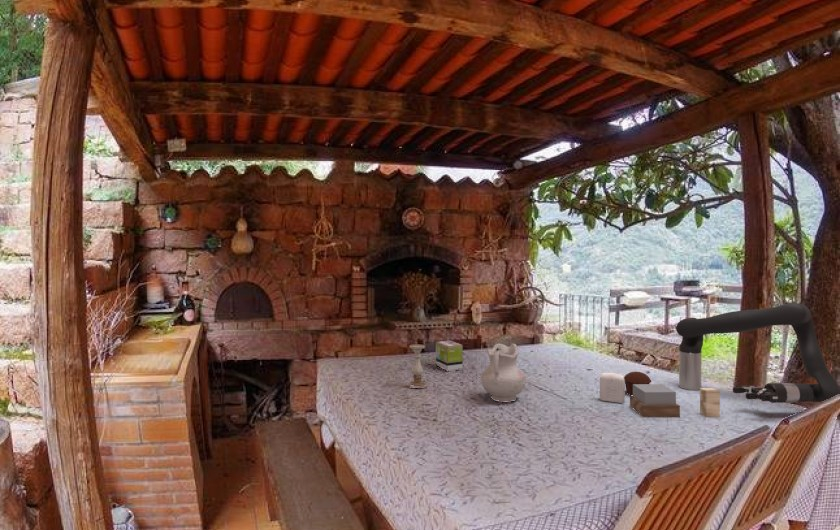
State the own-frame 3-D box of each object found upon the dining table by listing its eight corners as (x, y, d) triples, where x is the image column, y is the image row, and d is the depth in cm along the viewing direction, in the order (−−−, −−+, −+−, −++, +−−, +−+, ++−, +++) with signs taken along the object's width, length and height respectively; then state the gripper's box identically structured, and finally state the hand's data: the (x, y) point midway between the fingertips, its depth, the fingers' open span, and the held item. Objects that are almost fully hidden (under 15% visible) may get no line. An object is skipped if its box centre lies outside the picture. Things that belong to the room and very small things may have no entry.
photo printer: (625, 401, 216) (625, 373, 215) (624, 404, 212) (624, 375, 212) (600, 398, 221) (600, 370, 221) (598, 400, 217) (598, 372, 217)
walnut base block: (630, 407, 209) (629, 395, 209) (663, 407, 209) (663, 395, 208) (643, 418, 195) (643, 405, 195) (679, 418, 195) (679, 405, 194)
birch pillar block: (700, 412, 200) (700, 388, 199) (712, 412, 199) (712, 388, 199) (706, 416, 195) (706, 391, 194) (719, 416, 194) (719, 391, 194)
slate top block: (632, 396, 208) (632, 384, 208) (661, 396, 208) (661, 384, 208) (645, 404, 196) (645, 392, 196) (675, 404, 196) (675, 392, 196)
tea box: (435, 367, 286) (434, 341, 286) (450, 365, 290) (450, 339, 290) (447, 372, 272) (447, 345, 272) (463, 370, 277) (463, 344, 276)
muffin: (622, 395, 225) (622, 373, 224) (624, 389, 234) (624, 368, 234) (651, 399, 219) (651, 376, 219) (652, 392, 229) (652, 371, 229)
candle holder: (419, 390, 237) (418, 348, 237) (404, 387, 242) (404, 346, 242) (430, 386, 244) (429, 345, 244) (415, 383, 249) (415, 343, 249)
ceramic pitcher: (523, 410, 208) (528, 351, 207) (477, 404, 212) (481, 346, 211) (523, 396, 229) (527, 343, 228) (481, 391, 233) (485, 338, 232)
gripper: (769, 378, 203) (728, 379, 203) (794, 387, 188) (750, 388, 189) (770, 397, 203) (729, 397, 203) (794, 407, 188) (751, 408, 189)
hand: (739, 393), depth 196 cm, fingers open, 8 cm apart
